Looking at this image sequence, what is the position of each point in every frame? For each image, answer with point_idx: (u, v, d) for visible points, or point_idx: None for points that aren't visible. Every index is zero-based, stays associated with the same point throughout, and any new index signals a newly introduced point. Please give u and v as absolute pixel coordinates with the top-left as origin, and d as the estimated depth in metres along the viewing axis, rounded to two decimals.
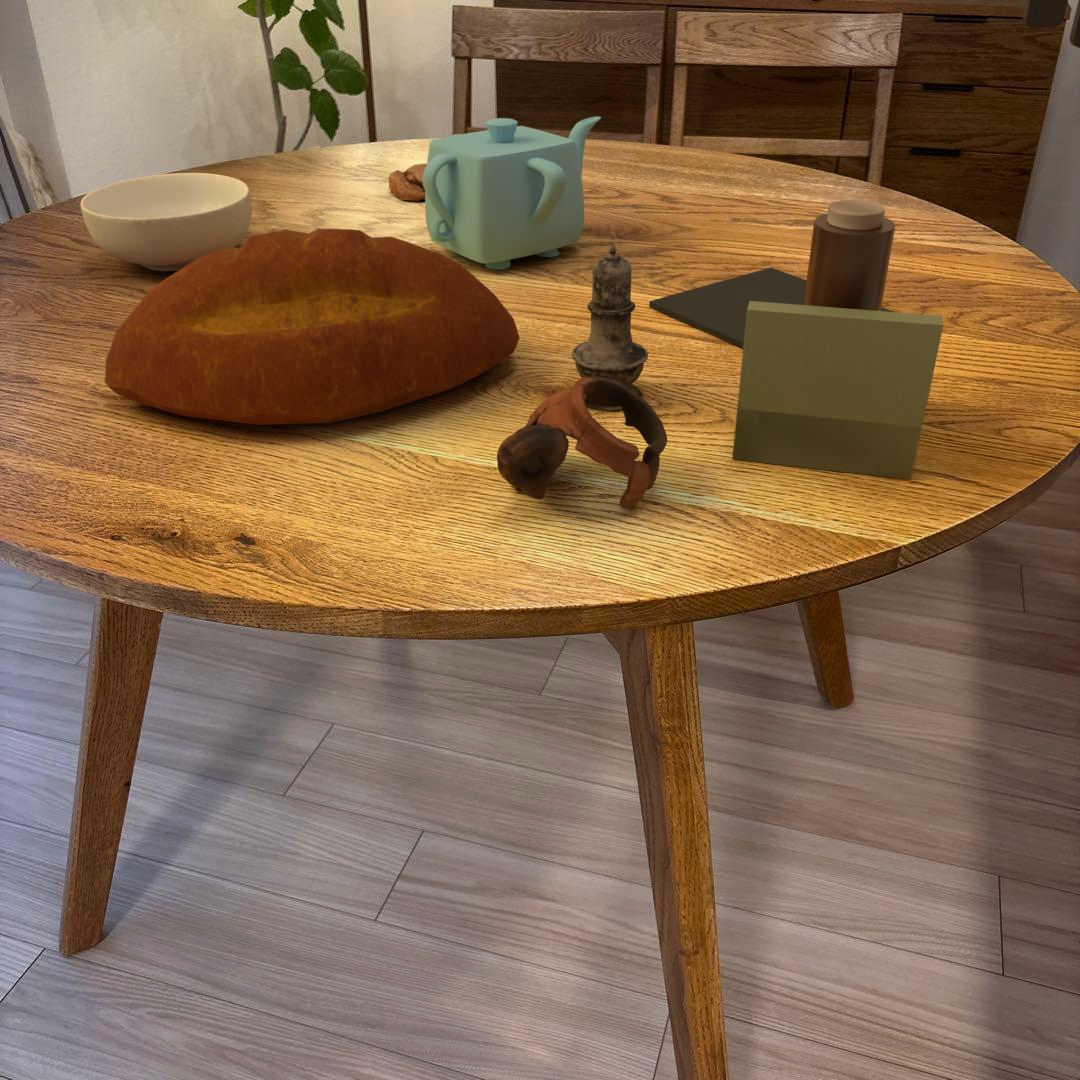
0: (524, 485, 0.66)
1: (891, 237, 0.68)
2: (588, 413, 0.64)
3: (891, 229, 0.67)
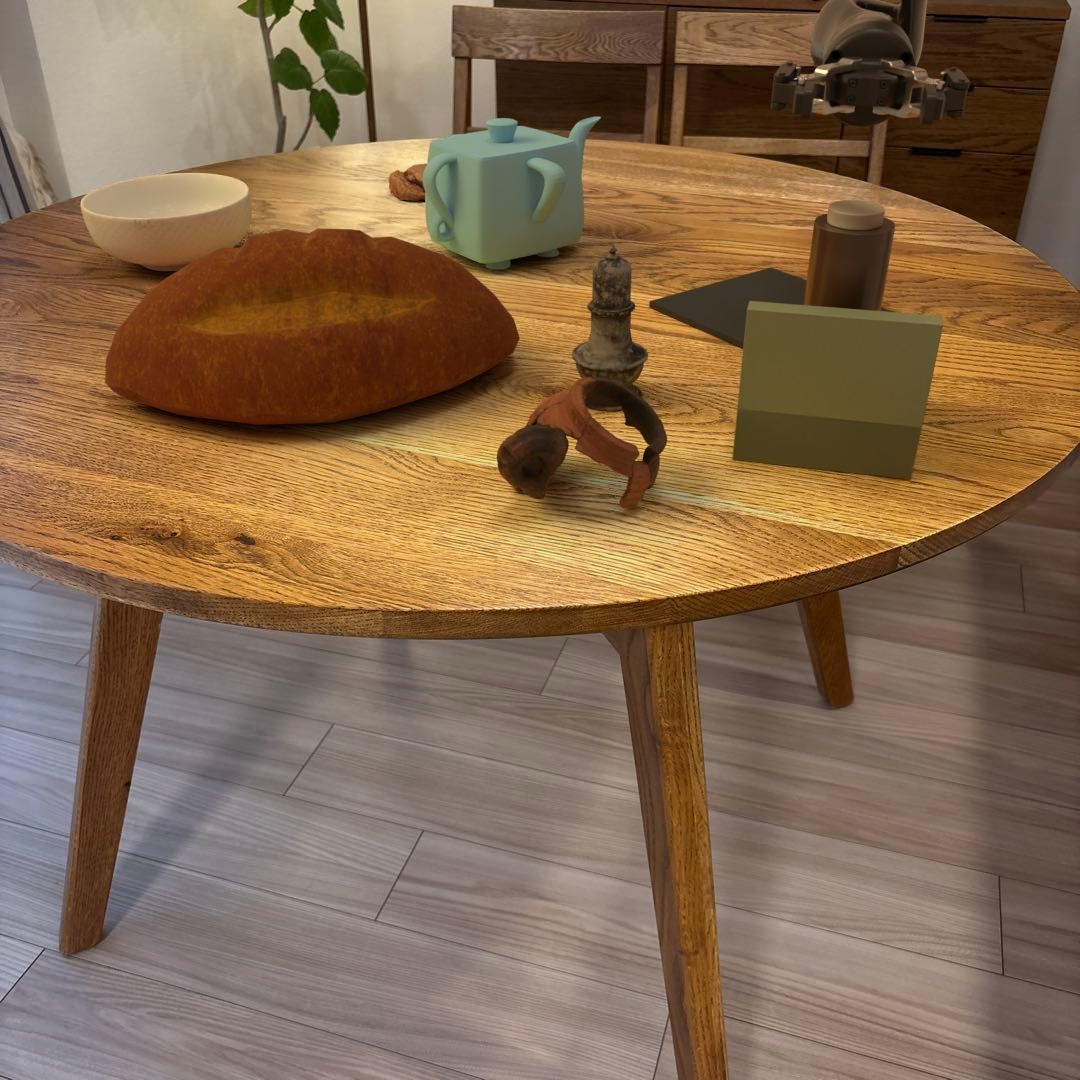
0: (524, 485, 0.66)
1: (891, 237, 0.68)
2: (588, 413, 0.64)
3: (891, 229, 0.67)
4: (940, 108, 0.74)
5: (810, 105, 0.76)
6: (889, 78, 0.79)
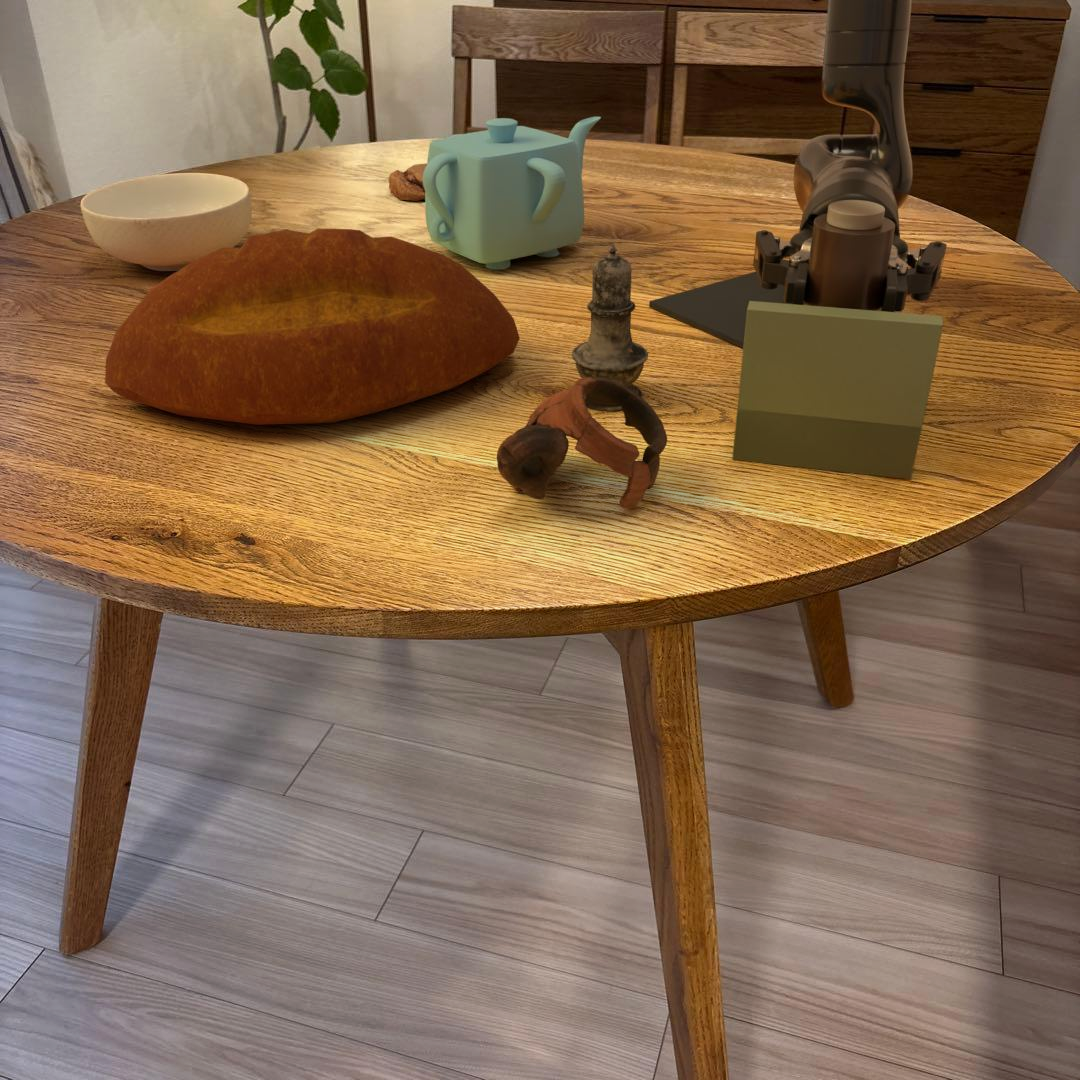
0: (524, 485, 0.66)
1: (891, 237, 0.68)
2: (588, 413, 0.64)
3: (890, 229, 0.67)
4: (901, 299, 0.69)
5: (802, 296, 0.70)
6: None
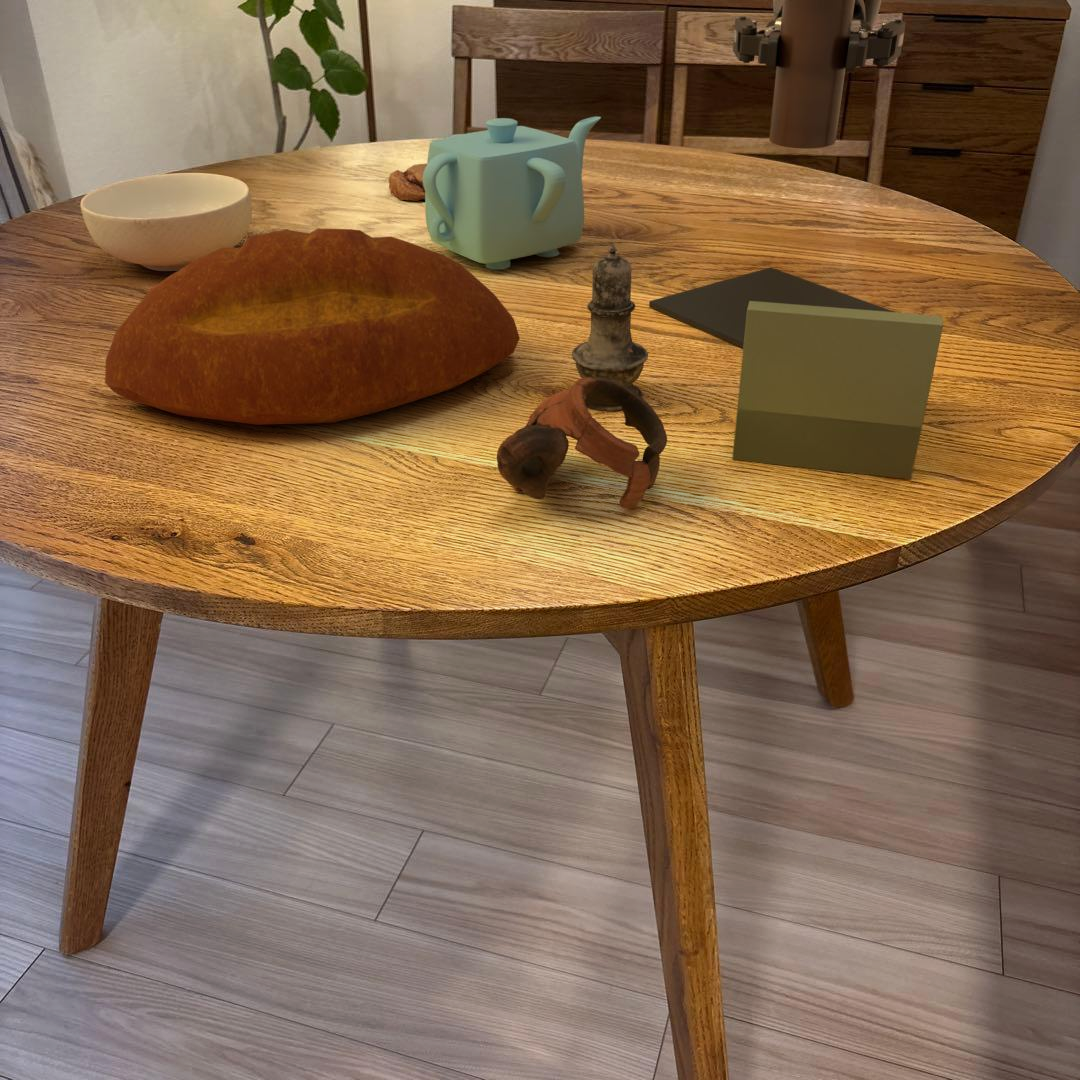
0: (524, 485, 0.66)
1: None
2: (588, 413, 0.64)
3: None
4: (862, 54, 0.77)
5: (775, 54, 0.78)
6: None
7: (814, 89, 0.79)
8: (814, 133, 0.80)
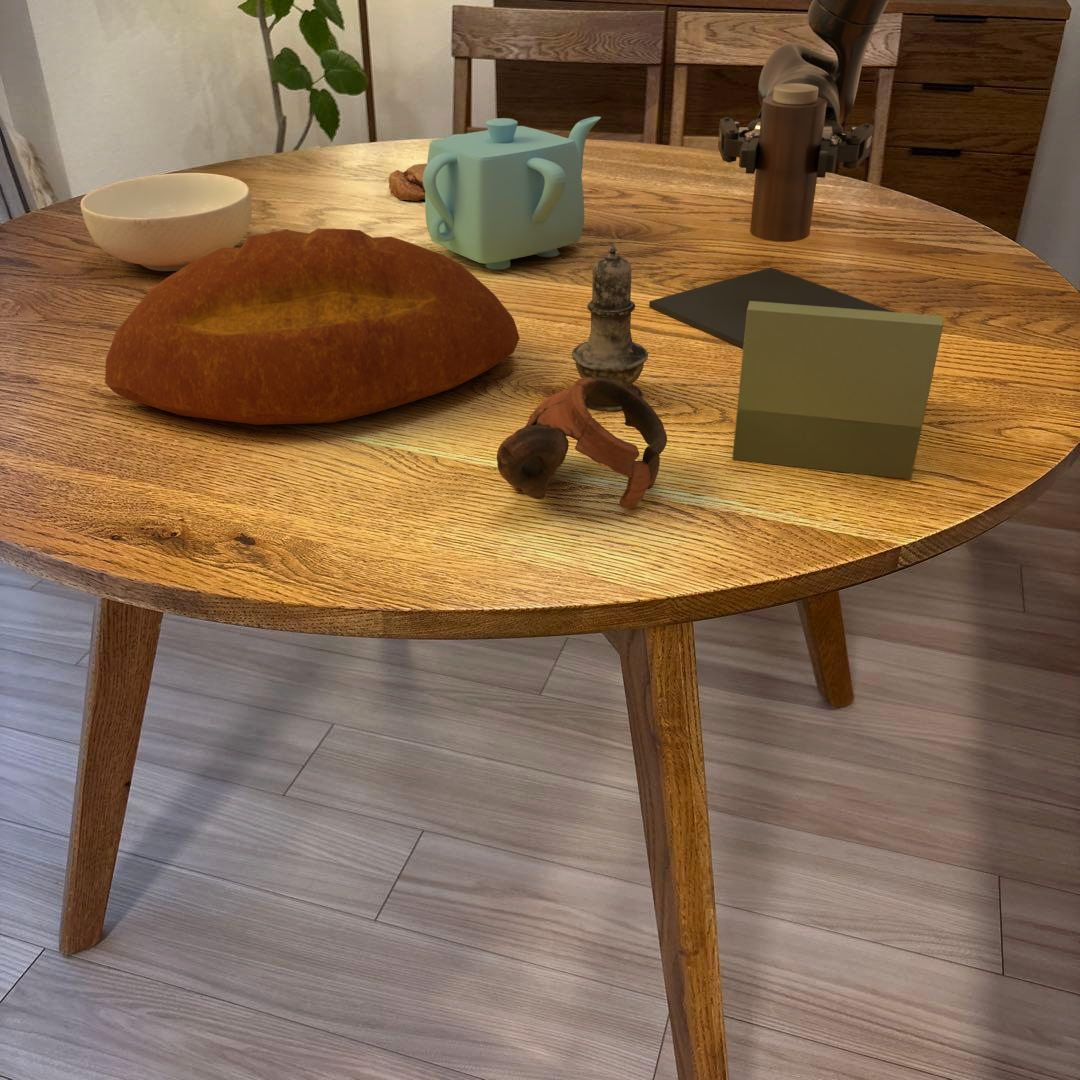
0: (524, 485, 0.66)
1: (823, 111, 0.85)
2: (588, 413, 0.64)
3: (822, 104, 0.85)
4: (832, 162, 0.86)
5: (753, 161, 0.87)
6: None
7: (789, 191, 0.88)
8: (789, 229, 0.89)
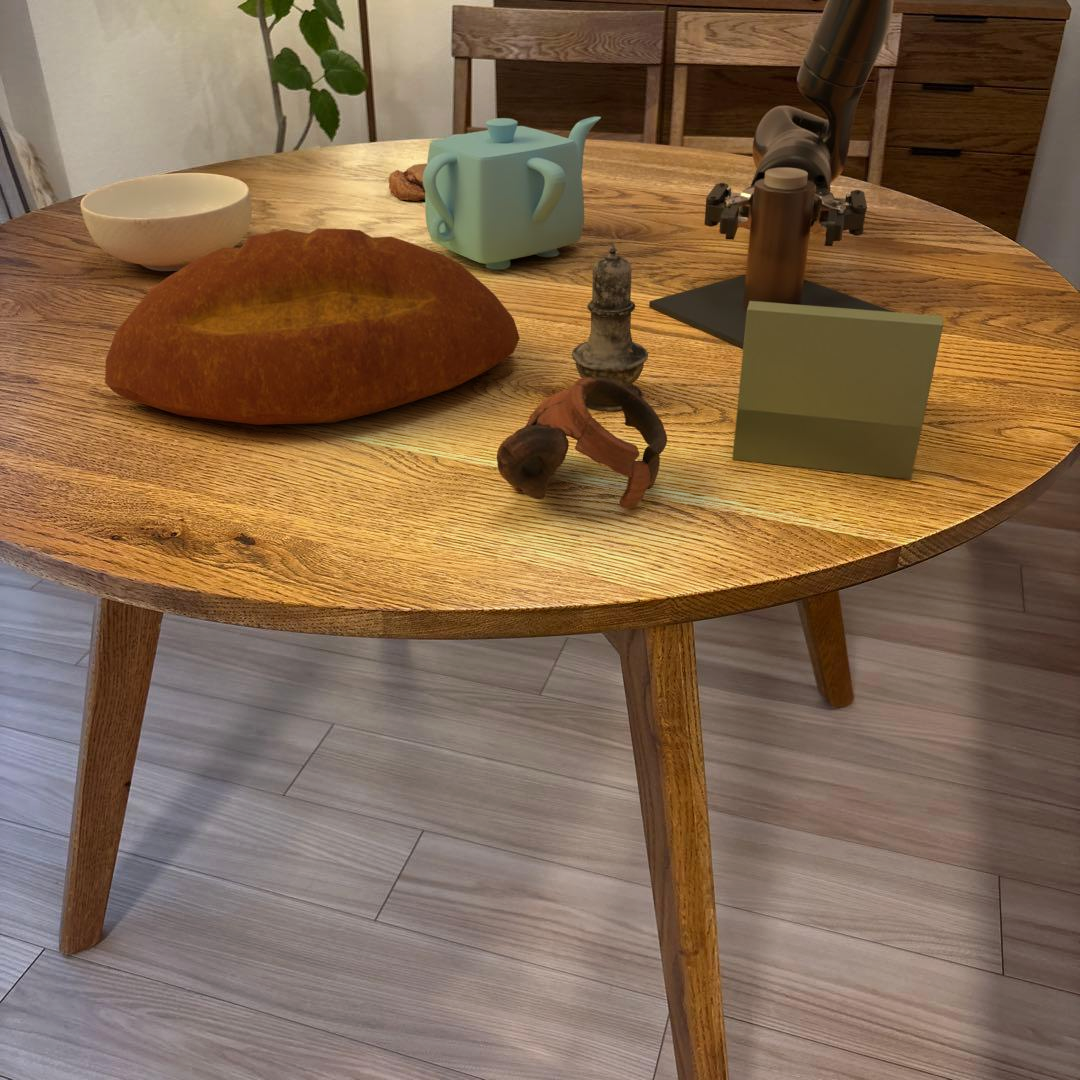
0: (524, 485, 0.66)
1: (812, 195, 0.89)
2: (588, 413, 0.64)
3: (811, 189, 0.88)
4: (839, 232, 0.90)
5: (733, 228, 0.91)
6: None
7: (780, 269, 0.91)
8: None
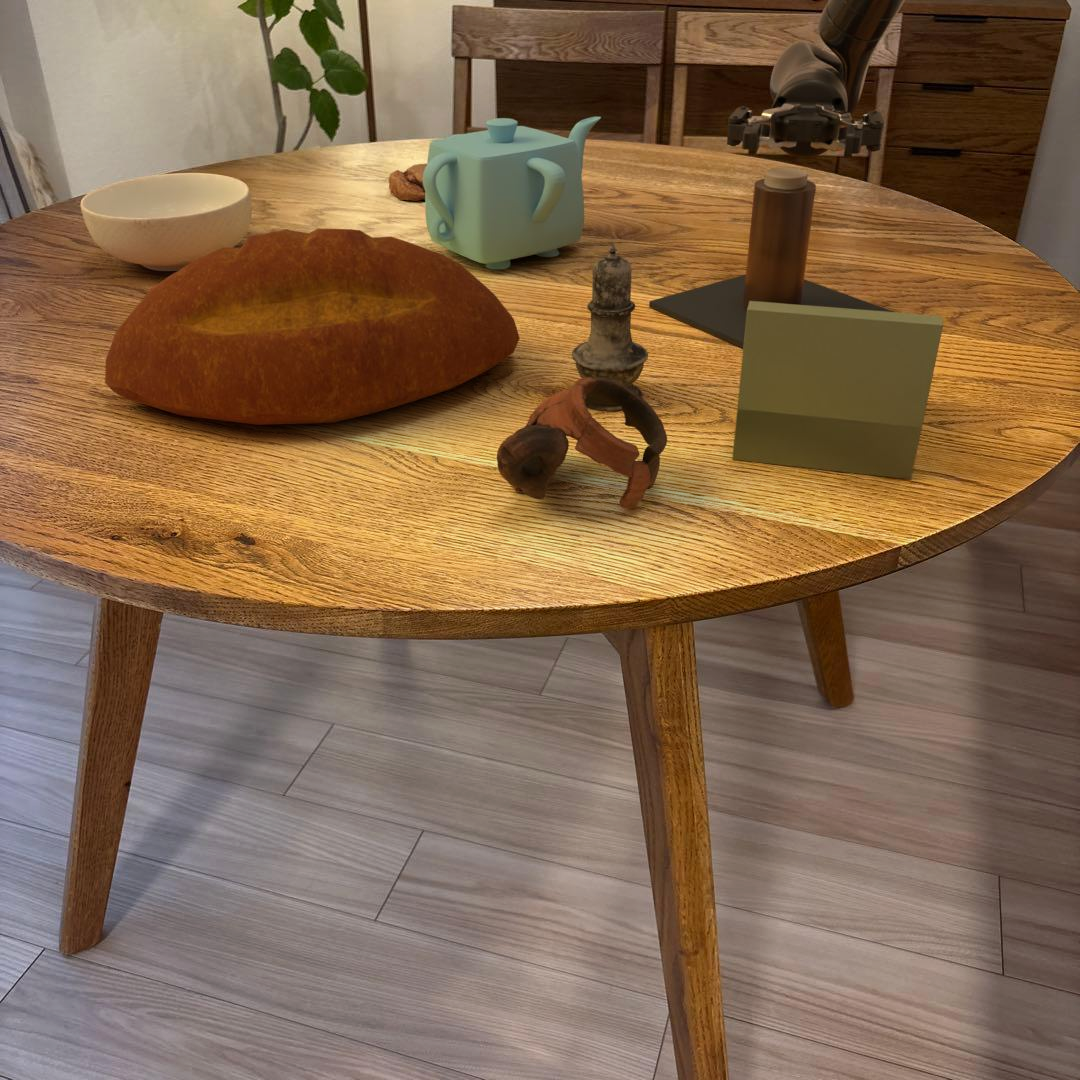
0: (524, 485, 0.66)
1: (812, 195, 0.89)
2: (588, 413, 0.64)
3: (811, 189, 0.88)
4: (858, 144, 0.93)
5: (755, 142, 0.95)
6: (821, 119, 0.98)
7: (780, 269, 0.91)
8: None
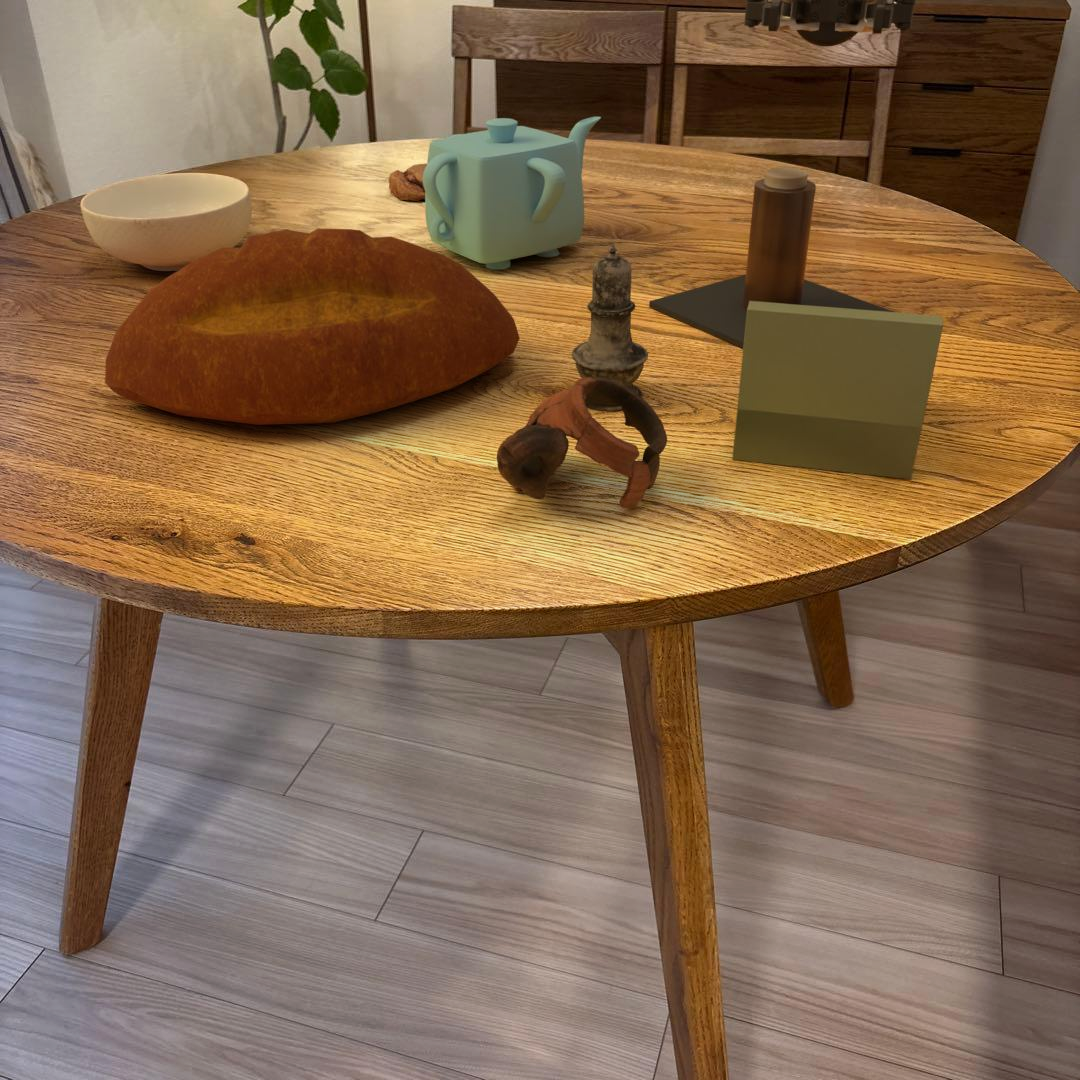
0: (524, 485, 0.66)
1: (812, 195, 0.89)
2: (588, 413, 0.64)
3: (811, 189, 0.88)
4: (888, 17, 0.86)
5: (776, 17, 0.87)
6: None
7: (780, 269, 0.91)
8: None
